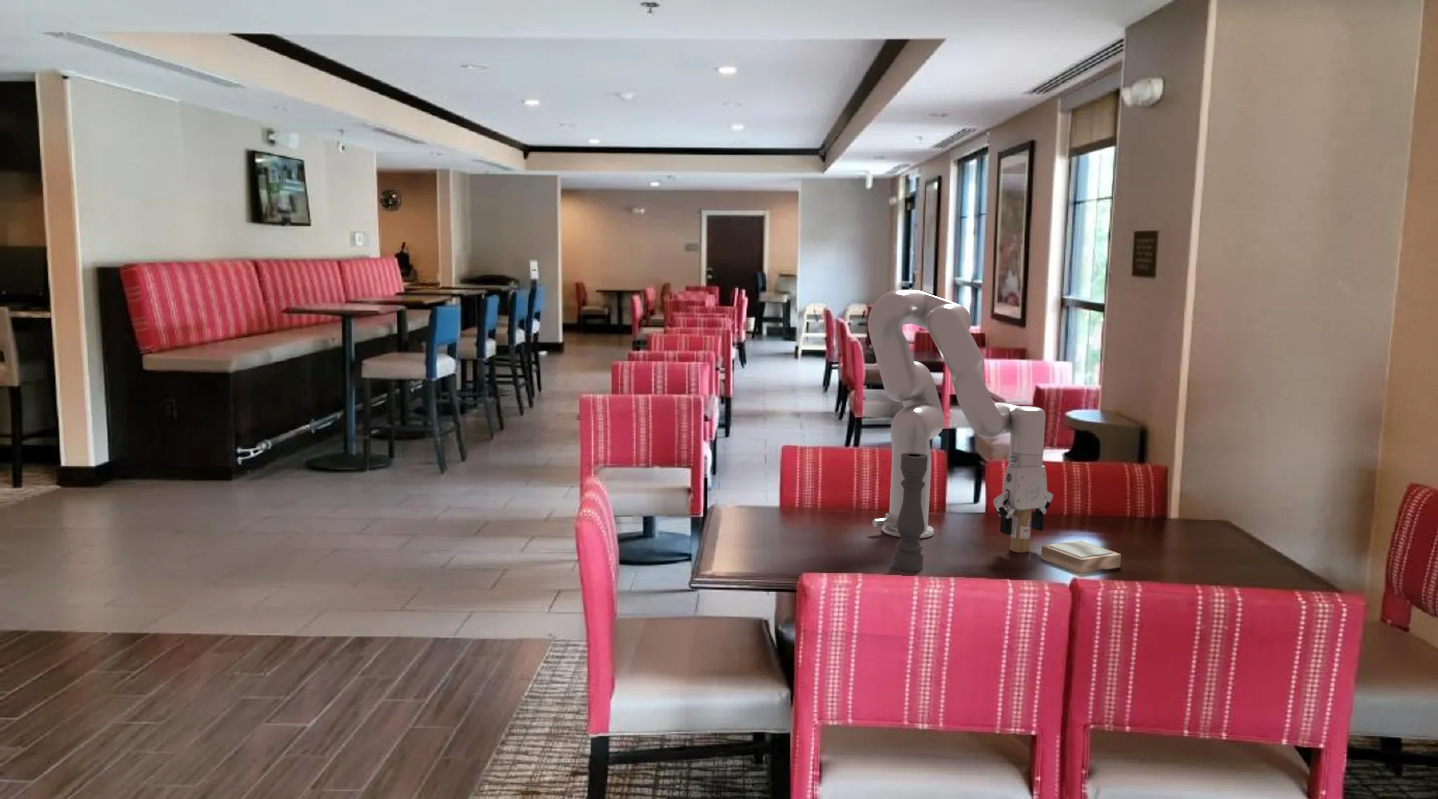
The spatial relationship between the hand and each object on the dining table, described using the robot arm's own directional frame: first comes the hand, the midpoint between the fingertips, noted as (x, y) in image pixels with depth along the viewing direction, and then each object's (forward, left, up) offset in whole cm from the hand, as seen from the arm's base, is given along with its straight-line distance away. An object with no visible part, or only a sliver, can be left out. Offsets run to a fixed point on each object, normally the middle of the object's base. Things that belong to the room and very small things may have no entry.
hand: (1021, 531), depth 243 cm
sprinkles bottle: (0, 0, -5) cm, 5 cm away
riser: (+6, -13, -5) cm, 15 cm away
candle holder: (-33, -1, -5) cm, 33 cm away
